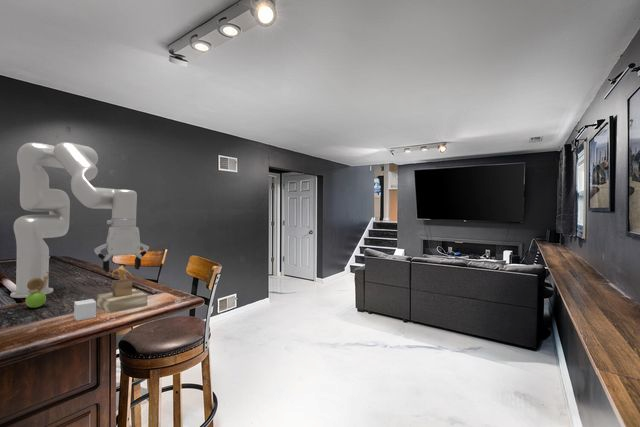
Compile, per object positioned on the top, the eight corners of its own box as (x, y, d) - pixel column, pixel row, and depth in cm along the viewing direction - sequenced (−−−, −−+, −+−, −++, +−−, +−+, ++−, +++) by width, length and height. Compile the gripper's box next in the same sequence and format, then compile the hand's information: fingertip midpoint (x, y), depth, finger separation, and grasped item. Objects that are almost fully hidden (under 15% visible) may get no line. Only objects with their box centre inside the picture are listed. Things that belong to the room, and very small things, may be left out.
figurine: (136, 292, 132) (137, 264, 132) (128, 296, 126) (129, 266, 126) (116, 292, 132) (117, 263, 132) (107, 296, 126) (108, 266, 125)
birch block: (96, 307, 113) (97, 294, 113) (132, 300, 123) (133, 288, 123) (110, 314, 106) (110, 301, 106) (147, 306, 116) (147, 294, 116)
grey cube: (74, 316, 102) (74, 301, 102) (92, 313, 105) (93, 298, 105) (76, 321, 98) (77, 305, 98) (96, 317, 102) (96, 302, 102)
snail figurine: (53, 305, 112) (53, 272, 112) (31, 310, 106) (32, 275, 106) (42, 303, 114) (43, 270, 114) (21, 308, 108) (21, 273, 108)
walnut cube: (112, 294, 114) (112, 280, 114) (127, 292, 118) (128, 278, 118) (116, 297, 111) (116, 283, 111) (131, 294, 115) (132, 281, 114)
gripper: (97, 224, 106) (95, 275, 106) (153, 224, 118) (151, 269, 118) (92, 222, 111) (91, 271, 111) (146, 222, 123) (144, 266, 124)
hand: (122, 270), depth 115 cm, fingers open, 9 cm apart
